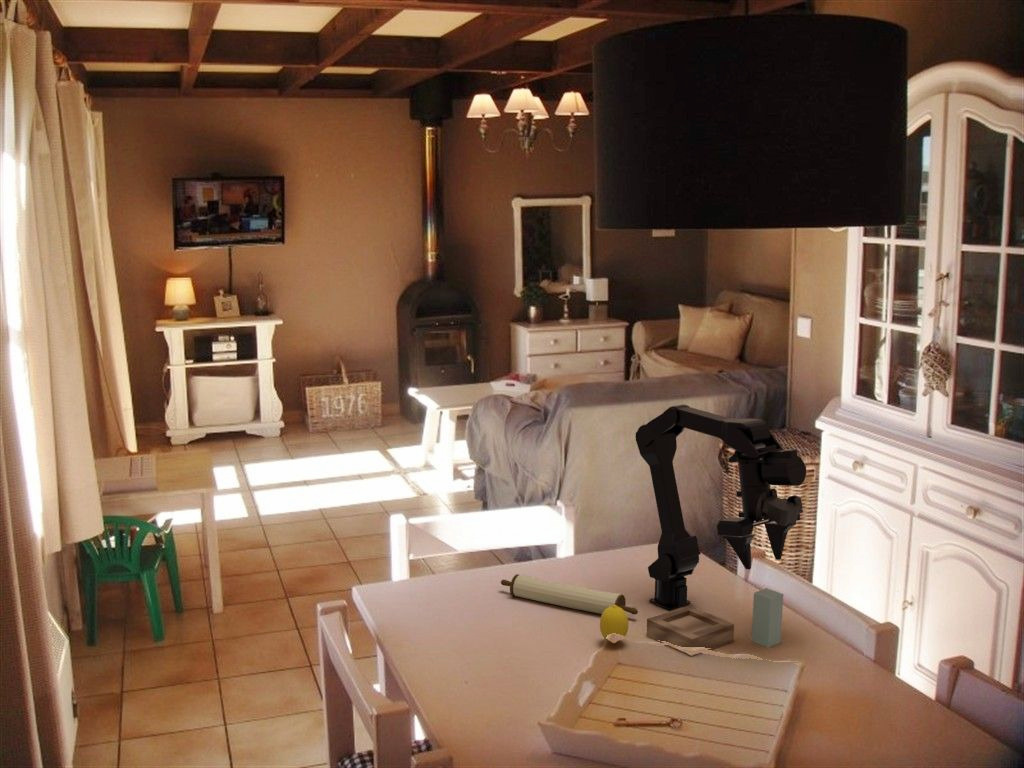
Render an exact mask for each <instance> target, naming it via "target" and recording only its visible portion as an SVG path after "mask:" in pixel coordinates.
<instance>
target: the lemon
mask: <svg viewBox="0 0 1024 768" xmlns="http://www.w3.org/2000/svg"><path fill="white" fill-rule="evenodd" d="M629 625H630V624H629V617H628V616H627V613H626V611H624V610H623V609H622V608H620V607H618V606H617V605H613V606H610V607H608V608H606V609H605V610H604V612H603V613H602V614H601V617H600V619H599V629H600V632H601V636H602V637H603V639H605V640H606V637H607V635H609V634H612V633H616V634H620V635H623V636H625V637H626V636H627V635H628V631H629Z"/></svg>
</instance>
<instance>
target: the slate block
mask: <svg viewBox="0 0 1024 768" xmlns="http://www.w3.org/2000/svg"><path fill="white" fill-rule="evenodd" d="M752 602H753V603H752V604H753V605H752V621H751V622H752V623H751V625H752V626H751V639H750V641H751V642H753V643H756V644H758V645H760V646H762V647H765V648H771V647H773V646H776V645H778V644H781V641H782V625H783V624H782V623H783V609H784V607H783V606H784V593H781V592H779V591H776V590H773V589H770V588H767V587H766V588H763V589H761V590H758V591H754V593H753V600H752Z"/></svg>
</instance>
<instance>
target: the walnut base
mask: <svg viewBox="0 0 1024 768" xmlns="http://www.w3.org/2000/svg"><path fill="white" fill-rule="evenodd" d="M734 636H735V624H734V623H732V622H730V621H728V620H725V619H723V618H721V617H719V616H715V615H713V614H712V613H710V612H706V611H705V610H704V611H703V610H701V609H699V608H696V607H694V606H691V604H689V605H686V606H683V607H680V608H677V609H674V610H669V611H667V612H664V613H661V614H658V615H657V614H656V615H654V616H653V617H652V616H651V617H649V618H646V637H649V638H651V639H653V640H655V641H657V640H660V641H666V642H669V643H671V644H673V645H677V646H681V647H705V648H711V649H710V650H713V649H715V648H718V647H721V646H724V645H726V644H729V643H732V642H734Z"/></svg>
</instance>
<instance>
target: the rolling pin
mask: <svg viewBox="0 0 1024 768" xmlns="http://www.w3.org/2000/svg"><path fill="white" fill-rule="evenodd" d="M500 584H501V585H502V586H504V587H509V594H510V595H511V597H513V598H516V597H519V598H524V599H527V600H533V601H537V602H542V603H545V604H552V605H555V606H559V607H560V606H561V607H563V608H564V607H565V608H569V609H573V610H580V611H585V612H589V613H595V614H599V615H600V614H601V615H602V613H603V612H604V610H605V609H606V608H608V607H610V606H613V605H617V606H618V607H620V608H622V609H623V610H624V611H625V612H627V613H629V614H631V615H638V611H639V610H638V609H637V608H636V607H632V606H631V607H630V606H627V605H626V601H627V600H626V597H625V595H624V594H622V593H617V592H616V593H615V592H610V591H609V592H608V591H604V590H599V589H597V590H596V589H593V588H592V589H591V588H588V587H580V586H576V585H571V584H566V583H565V584H564V583H561V582H554V581H549V580H544V579H540V578H537V577H533V576H531V575H527V574H520V573H519V574H515V575H514V576H512V579H511V581H509V580H508V579H501V580H500Z"/></svg>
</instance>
